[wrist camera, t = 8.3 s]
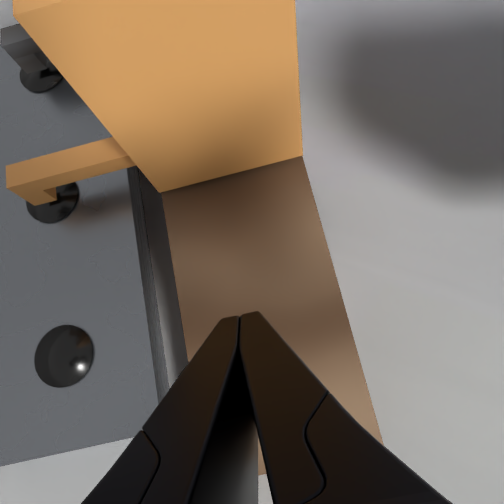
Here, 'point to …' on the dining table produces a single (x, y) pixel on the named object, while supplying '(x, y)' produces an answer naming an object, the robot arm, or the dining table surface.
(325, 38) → the dining table surface
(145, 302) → the bolt hole plate
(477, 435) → the dining table surface
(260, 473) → the rail
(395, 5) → the dining table surface
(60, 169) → the block
